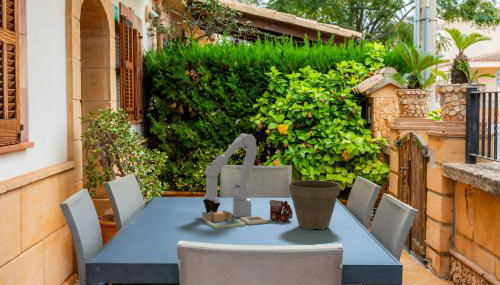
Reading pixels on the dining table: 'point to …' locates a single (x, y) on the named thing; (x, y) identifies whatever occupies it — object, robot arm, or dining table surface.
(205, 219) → the channel walls
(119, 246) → the dining table surface
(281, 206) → the toy fire truck
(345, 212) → the dining table surface
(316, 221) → the plant pot
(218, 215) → the terracotta block
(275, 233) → the dining table surface
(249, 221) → the trap basin
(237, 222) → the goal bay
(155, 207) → the dining table surface
